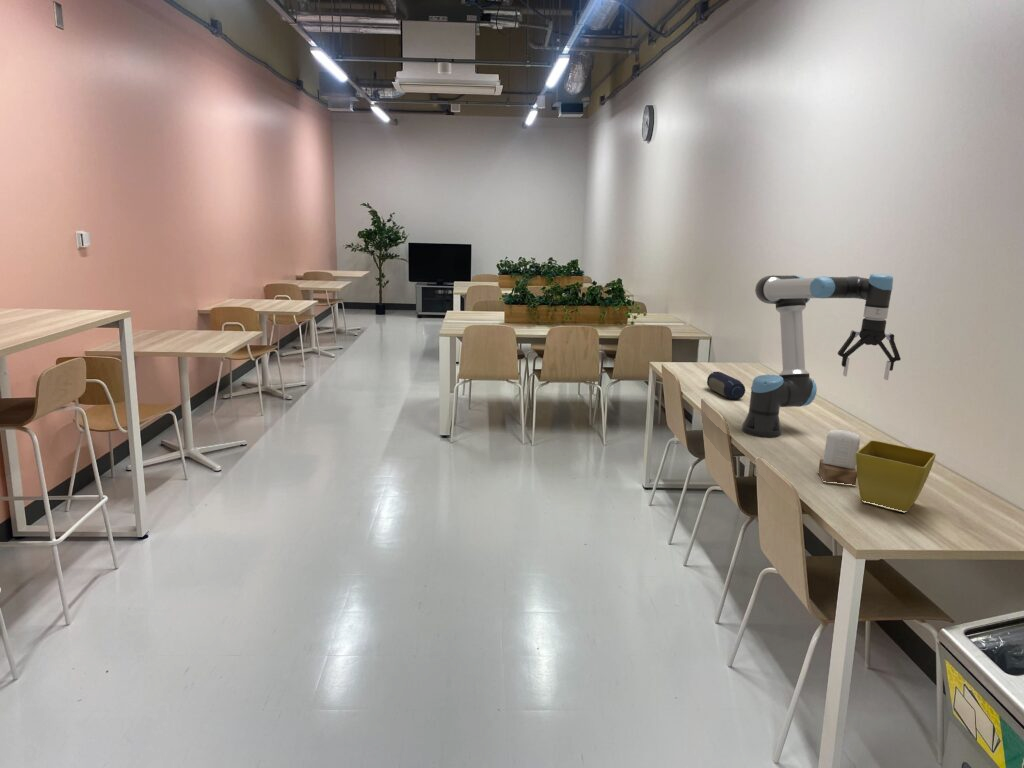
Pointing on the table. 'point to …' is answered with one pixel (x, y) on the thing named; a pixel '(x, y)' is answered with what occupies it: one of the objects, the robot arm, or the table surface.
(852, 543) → the table surface
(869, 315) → the robot arm
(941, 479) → the table surface
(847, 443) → the photo printer
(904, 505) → the flower pot
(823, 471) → the walnut block
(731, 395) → the portable speaker
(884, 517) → the table surface
